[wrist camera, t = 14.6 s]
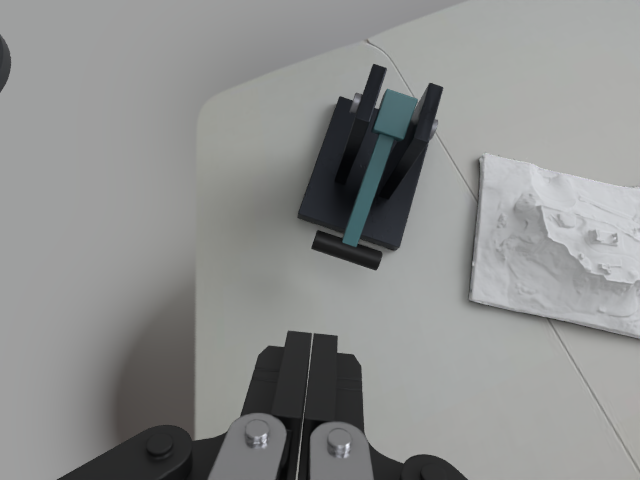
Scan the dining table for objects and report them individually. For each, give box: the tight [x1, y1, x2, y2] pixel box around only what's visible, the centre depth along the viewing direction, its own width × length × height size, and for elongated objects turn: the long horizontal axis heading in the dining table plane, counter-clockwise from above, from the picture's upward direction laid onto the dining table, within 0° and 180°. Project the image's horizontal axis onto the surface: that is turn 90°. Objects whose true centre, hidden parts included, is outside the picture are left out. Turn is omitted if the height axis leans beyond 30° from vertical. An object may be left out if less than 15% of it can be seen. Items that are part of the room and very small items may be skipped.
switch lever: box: [311, 89, 418, 270], centre depth 33 cm, size 12×5×2 cm, turn 162°
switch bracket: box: [298, 64, 443, 251], centre depth 36 cm, size 12×9×12 cm
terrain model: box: [468, 152, 640, 339], centre depth 40 cm, size 17×23×5 cm
